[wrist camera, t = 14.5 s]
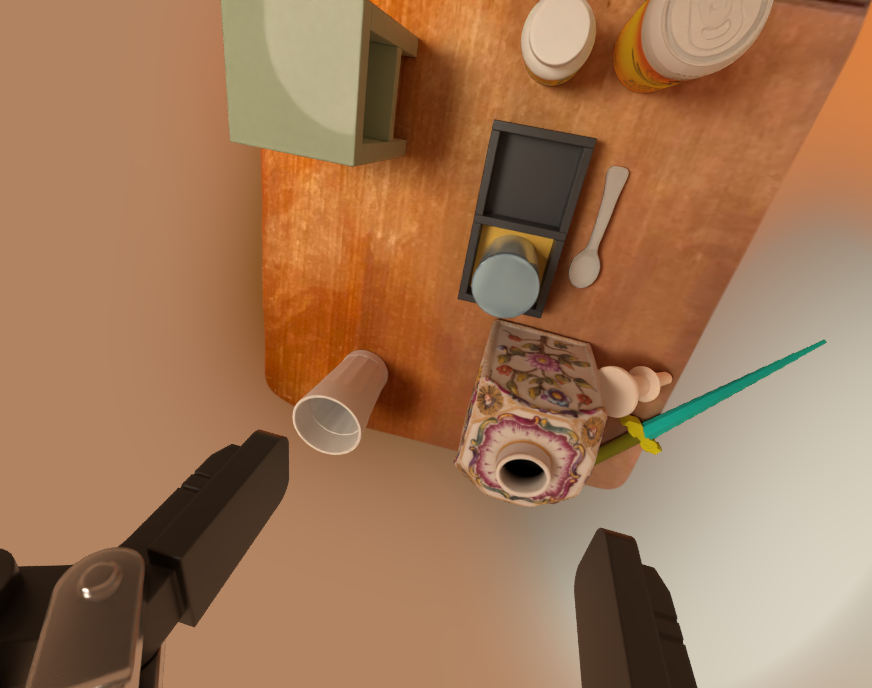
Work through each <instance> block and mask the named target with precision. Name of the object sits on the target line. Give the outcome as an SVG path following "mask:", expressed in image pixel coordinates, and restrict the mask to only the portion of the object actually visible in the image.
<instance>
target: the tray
mask: <svg viewBox="0 0 872 688" xmlns="http://www.w3.org/2000/svg"><path fill="white" fill-rule="evenodd" d="M492 129H493V130H492V131H491V136H490V141H489V146H488V151H487V156H486V161H485V166H484V171H483V176H482V181H481V186H480V191H479V196H478V200H477V205H476V210H475V215H474V220H473V225H472V230H471V235H470V240H469V245H468V250H467V255H466V260H465V265H464V270H463V275H462V280H461V285H460V289H459V294H458V299H460V300H465V301H469V302H473V303H476V301H475V299H474V297H473V294H472V288H471V287H472V278H473V275H474V273H475V271H476V269H477V267H478V265H479V262H480V260H481V258H482V255H483V253H484V251H485V249H486V247H487V246H488V245H489V244H490V243H491V242H492V241H493V240H494V239H496V238H498V237H500V236H504V235H518V236H521V237H523V238H525V239H527V240H528V241H530V242H531V243H532V245H533V246H534V247H535V249H536V251H537V254H538V258H539V281H540V289H539V294H538V297H537V300H536V301H535V303H534V304H533V306H532V307H531V308H530V309H529V310H528V311H526V312H525V313H523V314H524V315H528V316H533V317H537V318H541V316H542V313H543V310H544V307H545V304H546V300H547V297H548V294H549V291H550V288H551V284H552V281H553V278H554V275H555V272H556V268H557V265H558V262H559V259H560V256H561V252H562V249H563V246H564V243H565V242H564V241H565V240H566V236H567V233H568V230H569V227H570V224H571V220H572V217H573V214H574V211H575V208H576V204H577V201H578V198H579V195H580V192H581V189H582V185H583V182H584V179H585V176H586V173H587V169H588V166H589V163H590V160H591V157H592V153H593V150H594V149H593V148H594V147H595V144H596V141H597V139H596V138H591V137H586V136H580V135H575V134H570V133H564V132H559V131H554V130H548V129H543V128H537V127H532V126H527V125H521V124H516V123H511V122H505V121H500V120H494V121H493V126H492Z"/></svg>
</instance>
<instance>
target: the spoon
mask: <svg viewBox="0 0 872 688" xmlns="http://www.w3.org/2000/svg"><path fill="white" fill-rule="evenodd" d="M628 175H629V171H628V170H627V169H626V168H624V167H619V166H611V167H610V168H609V169H608V171H607V175H606V181H605V187H604V193H603V198H602V203H601V206H600V210H599V213H598V216H597V220H596V223H595V226H594V229H593V232H592V235H591V238H590V241H589V243H588V245H587V247H586V248H585V249H584V250H583V251H582V252H580V253H579V254H578V255H576V256H575V258H574V259H573V260H572V262H571V264H570V267H569V279H570V282H571V283H572V285H574V286H575V287H577V288H585V287H587V286H589V285H591V284H592V283H593V282H594V281H595V279H596V278H597V276H598V274H599V270H600V260H599V257H598V253H597V251H598V247H599V244H600V241H601V239H602V236H603V234H604V232H605V229H606V227H607V225H608V222H609V220H610V217H611V214H612V212H613V209H614V206H615V204H616V201H617V199H618V196H619V194H620V192H621V190H622V188H623V186H624V184H625V182H626V180H627V178H628Z"/></svg>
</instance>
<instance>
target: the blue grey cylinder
mask: <svg viewBox="0 0 872 688" xmlns="http://www.w3.org/2000/svg"><path fill="white" fill-rule="evenodd" d="M471 288H472V294H473V297H474V299H475V301H476V303H477V304H478V306H479V307H480V308H481V309H482V310H483V311H485V312H486V313H488V314H490V315H492V316H495V317H498V318H513V317H516V316H519V315H521V314H523V313H525V312H526V311H528V310H529V309H530V308H531V307H532V306H533V304H534V303H535V301H536V300H537V297H538V294H539V289H540V281H539V258H538V254H537V251H536V249H535V247H534V246H533V245H532V243H531V242H530V241H528V240H527V239H525V238H523V237H521V236H518V235H504V236H500V237H498V238H496V239H494V240H493V241H492V242H491V243H490V244H489V245H488V246H487V247H486V249H485V251H484V253H483V255H482V258H481V260H480V262H479V265H478V267H477V269H476V271H475V273H474V275H473V278H472V287H471Z"/></svg>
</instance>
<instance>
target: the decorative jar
mask: <svg viewBox="0 0 872 688" xmlns="http://www.w3.org/2000/svg"><path fill="white" fill-rule="evenodd" d="M607 419H608V413H607V408H606V404H605V399H604V395H603V391H602V385H601V382H600V377H599V373H598V369H597V366H596V362H595V358H594V355H593V351H592V348H591V345H590V344H589V343H585V342H581V341H576V340H574V339H570V338H567V337H563V336H559V335H556V334H552V333H548V332H544V331H541V330H537V329H534V328H531V327H527V326H523V325H519V324H515V323H510V322H507V321H503V320H499V319H496V320H495V321H494V322H493V324H492V327H491V330H490V334H489V338H488V341H487V344H486V348H485V351H484V355H483V357H482V361H481V364H480V368H479V371H478V375H477V378H476V382H475V385H474V389H473V392H472V396H471V398H470V401H469V405H468V409H467V413H466V417H465V422H464V426H463V430H462V434H461V439H460V444H459V449H458V454H457V457H456V459H455V460H454V465H455V466H456V467H457V468H458V469H459V470H460V472H461V473H462V474H463V475H464V476H465V477H467V478H468V479H470V481H471V482H472V483H473V484H474V485H476V486H477V487H478V488H479V489H480V490H481V491H482V492H483V493H485V494H486V495H489V496H492V497H494V498H498V499H500V500H503V501H506V502H508V503H513V504H517V505H521V506H525V507H533V506H537V505H542V504H556V503H559V501H562V500H566V499H569V498H572V497H575V496H577V495H578V494H579V493H580V491H581V489H582V488H583V486H584V485H585V483H586V481H587V479H588V478H589V477H590V475H591V473H592V470H593V466H594V464H595V461H596V458H597V454H598V452H599V446H600V442H601V440H602V438H603V436H604V427H605V423H606V421H607Z"/></svg>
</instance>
